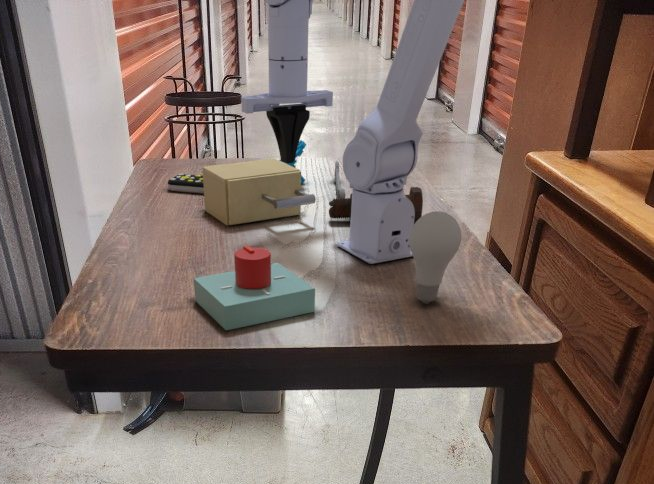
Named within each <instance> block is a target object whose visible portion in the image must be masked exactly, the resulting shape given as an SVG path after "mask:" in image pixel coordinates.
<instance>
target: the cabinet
mask: <svg viewBox="0 0 654 484" xmlns="http://www.w3.org/2000/svg"><path fill="white" fill-rule="evenodd" d="M279 160H280V159H277V158H274V157H273V158H265V159H257V160H247V161H238V162H231V163H222V164H214V165H213V164H212V165H205V166H202V176H203V184H204V194H203V195H204V197H203V198H204V199H203V200H204V211H205V212H206V213H207V214H210V215H211V216H212V217H213V218H215V219H217V220H218V221H220V223H223V224H224V225H226V226H231V225H230V224H229V206H228V185H227V180H233V179H241V178H249V177H257V176H265V175H273V174H281V173H289V172H297V171H300V172H301V170H300V169H299V168H297V167H295V168H294V167H292V166H290V165H288V164H285V163H283V162H281V161H279ZM292 216H294V215H292ZM280 218H281V217H279V218H278V219H280ZM266 220H268V219H266ZM266 220H265V221H266ZM253 222H255V221H253ZM247 223H248V222H246V223H245V224H247ZM233 225H235V224H233ZM233 225H232V226H233Z"/></svg>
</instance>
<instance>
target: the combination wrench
mask: <svg viewBox="0 0 654 484" xmlns="http://www.w3.org/2000/svg"><path fill="white" fill-rule="evenodd" d="M340 178H341V177H340V161H339V160H338V161H334V179H333V182H334V183H335V189H336V198H337V199H338V198H339V199H340V198H341V199H342V198H346V190H345V189H344V188H342V187H341V186H342V185H341V179H340Z"/></svg>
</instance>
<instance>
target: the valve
mask: <svg viewBox="0 0 654 484" xmlns="http://www.w3.org/2000/svg"><path fill="white" fill-rule="evenodd" d="M233 257H234V271H235V282H236V285H237V286H239V287H241V288H245V289H260V288H264V287H267V286H269V285H270V284H271V264H272V253H271V251H270V250H268V249H266V248H263V247H257V246H255V247H254V246H253V247H252V246H251V247H250V246H249V245H247V244H246V245H245V244H244V245H242V248H240V249H237V250H236V251H235V252H234V253H233Z"/></svg>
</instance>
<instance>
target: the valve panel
mask: <svg viewBox="0 0 654 484" xmlns="http://www.w3.org/2000/svg"><path fill="white" fill-rule="evenodd" d="M193 288H194V290H193V291H194V300H195V302H196V303H197V304H198V305H199V306H200V307H201V308H202V309H203V310H204V311H205V312H206V313H207V314H208V315H209V316H211V318H212V319H213V320H214V321H215V322H217V324H218V325H220V326H221V327H222V328H223V330H225V331H231V330H236V329H240V328H244V327H248V326H254V325H258V324H263V323H269V322H272V321H277V320H278V321H279V320H282V319H287V318H291V317H296V316H302V315H306V314H311V313H315V309H316V287H314V286H312V285H311V284H310V283H308V282H307V281H306V280H304V279H302V278H301V277H299V276H298V275H296V274H295V273H294V272H292V271H291V270H289V269H288V268H287V267H285V266H283V265H282V264H280V263H279V262H276V263H271V284H270V285H269V286H267V287H264V288H260V289H245V288H241V287H239V286H237V285H236V282H235V270H231V271H226V272H220V273H214V274H209V275H203V276H198V277H194V278H193Z"/></svg>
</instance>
